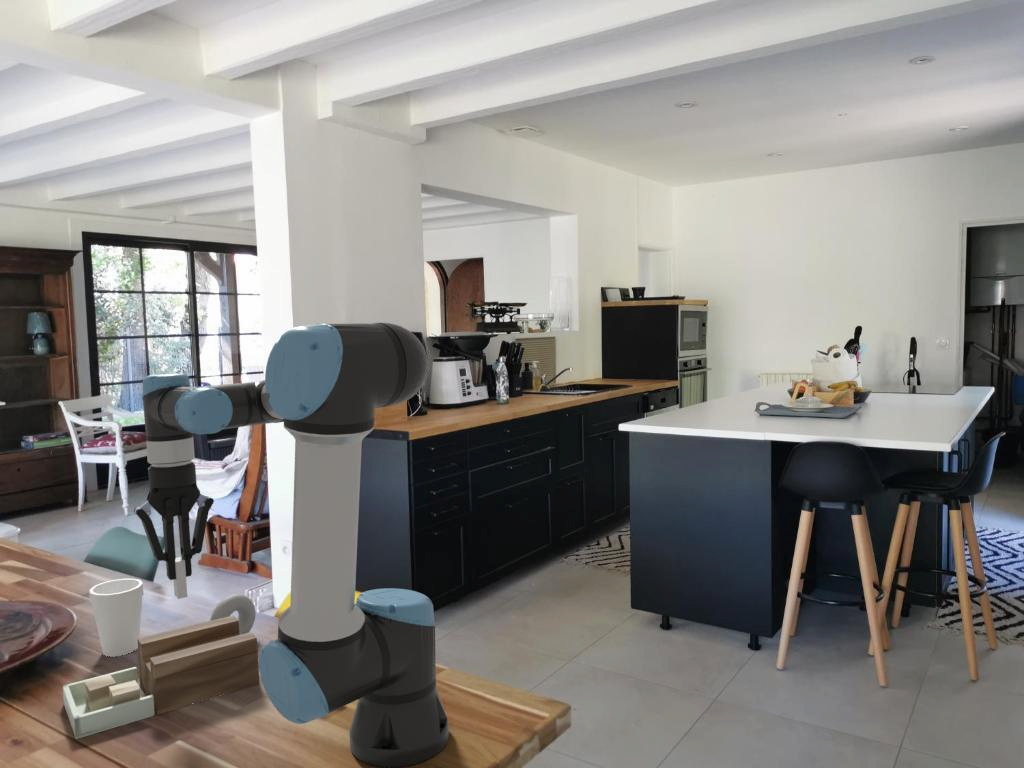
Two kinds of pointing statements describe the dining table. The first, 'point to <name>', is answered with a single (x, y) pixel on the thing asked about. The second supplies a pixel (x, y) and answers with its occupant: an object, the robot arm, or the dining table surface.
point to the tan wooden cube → (98, 693)
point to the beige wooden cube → (124, 692)
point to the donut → (236, 604)
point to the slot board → (197, 663)
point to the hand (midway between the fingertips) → (181, 595)
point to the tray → (106, 717)
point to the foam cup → (117, 614)
